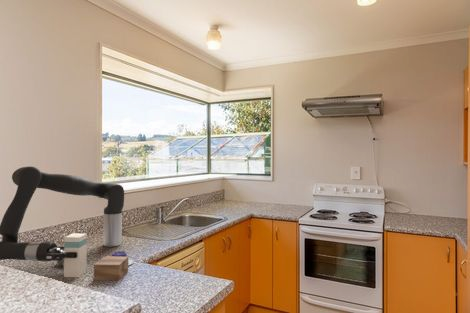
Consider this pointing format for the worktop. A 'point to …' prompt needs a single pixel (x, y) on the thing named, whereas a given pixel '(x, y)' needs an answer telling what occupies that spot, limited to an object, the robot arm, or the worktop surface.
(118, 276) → the brown square block
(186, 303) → the worktop surface
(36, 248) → the robot arm
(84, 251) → the milk carton
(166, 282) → the worktop surface
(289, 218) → the worktop surface
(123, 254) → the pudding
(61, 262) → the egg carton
